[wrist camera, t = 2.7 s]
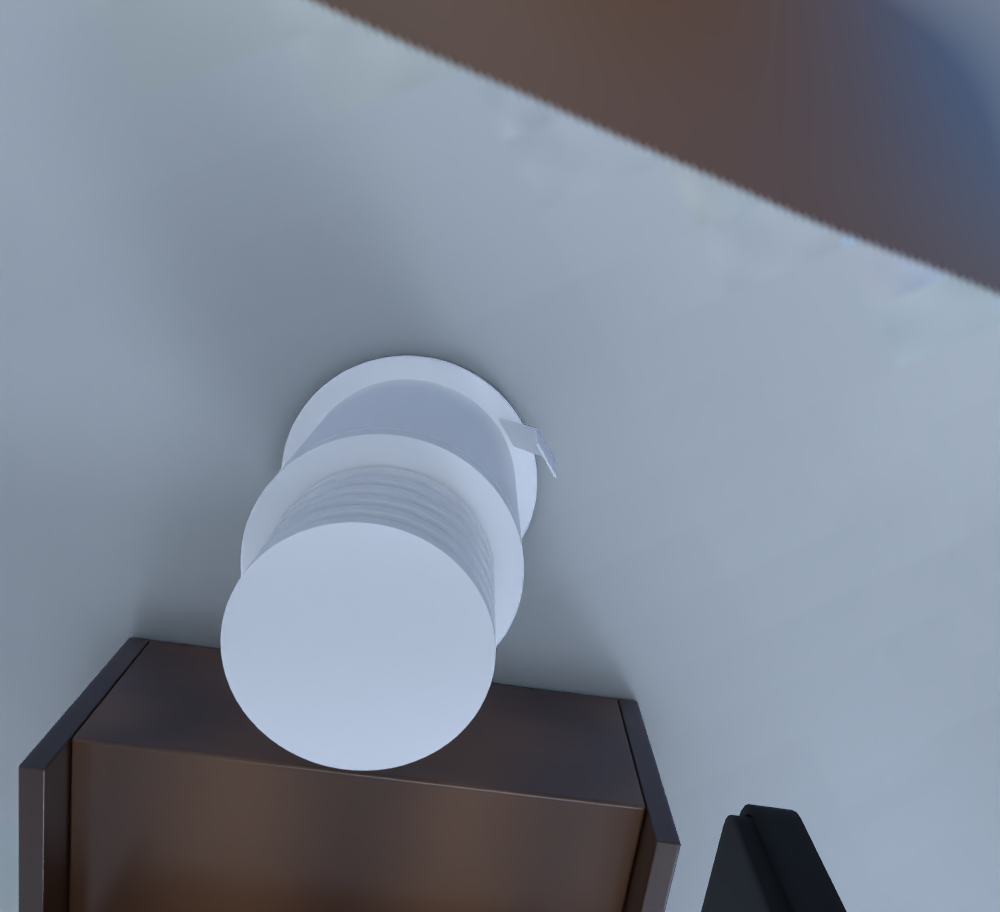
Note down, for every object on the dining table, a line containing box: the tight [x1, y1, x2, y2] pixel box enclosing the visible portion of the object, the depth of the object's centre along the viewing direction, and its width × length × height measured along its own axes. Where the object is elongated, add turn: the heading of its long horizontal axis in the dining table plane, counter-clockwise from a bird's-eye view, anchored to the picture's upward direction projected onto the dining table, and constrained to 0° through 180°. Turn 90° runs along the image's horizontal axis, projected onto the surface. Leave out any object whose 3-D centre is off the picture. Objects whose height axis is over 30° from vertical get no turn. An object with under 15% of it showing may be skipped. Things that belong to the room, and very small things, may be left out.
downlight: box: [220, 355, 557, 771], centre depth 19 cm, size 8×7×10 cm
